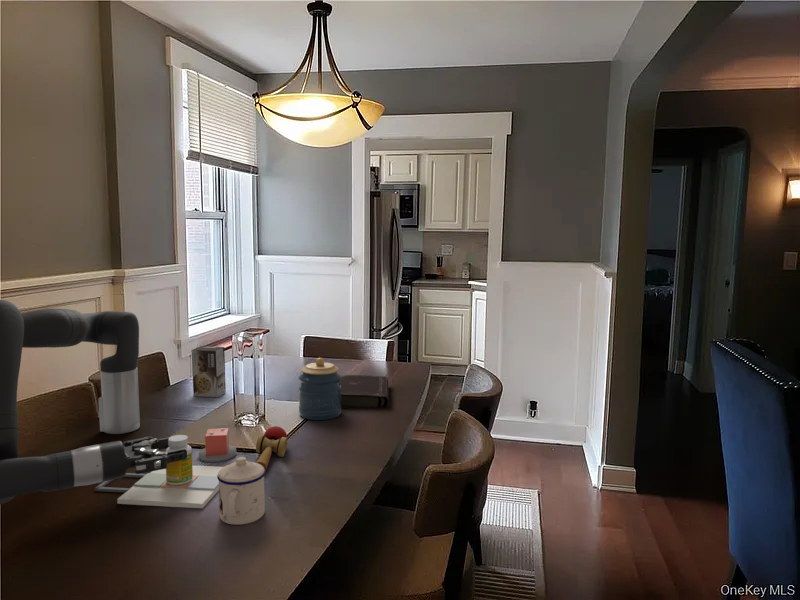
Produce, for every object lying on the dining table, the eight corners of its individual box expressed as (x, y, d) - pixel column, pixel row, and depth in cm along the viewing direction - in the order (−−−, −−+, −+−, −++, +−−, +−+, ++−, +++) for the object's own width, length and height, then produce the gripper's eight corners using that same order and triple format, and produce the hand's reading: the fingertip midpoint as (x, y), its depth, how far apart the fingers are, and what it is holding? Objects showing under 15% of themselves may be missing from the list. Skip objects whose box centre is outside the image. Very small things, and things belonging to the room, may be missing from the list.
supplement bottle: (183, 487, 123) (182, 443, 122) (161, 484, 124) (159, 441, 123) (197, 476, 128) (196, 434, 127) (175, 474, 129) (174, 432, 128)
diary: (388, 389, 209) (388, 375, 208) (388, 410, 184) (389, 395, 184) (336, 387, 208) (336, 374, 208) (330, 409, 184) (330, 394, 183)
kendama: (280, 478, 134) (295, 440, 152) (274, 454, 133) (289, 418, 150) (248, 483, 135) (266, 444, 152) (241, 459, 133) (260, 423, 150)
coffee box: (226, 392, 199) (225, 346, 197) (217, 397, 193) (216, 350, 191) (202, 391, 200) (200, 345, 199) (192, 396, 194) (190, 349, 192)
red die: (195, 463, 139) (194, 437, 138) (201, 449, 148) (201, 424, 147) (234, 461, 140) (233, 435, 140) (238, 447, 149) (237, 423, 148)
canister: (303, 407, 184) (303, 352, 182) (344, 408, 183) (344, 353, 181) (294, 420, 171) (294, 362, 169) (338, 421, 170) (338, 363, 168)
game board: (80, 501, 119) (79, 495, 119) (128, 466, 137) (128, 460, 137) (202, 508, 117) (202, 501, 116) (235, 471, 134) (235, 465, 134)
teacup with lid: (226, 503, 119) (225, 449, 117) (270, 504, 119) (269, 449, 117) (206, 534, 107) (205, 474, 106) (255, 534, 107) (254, 474, 106)
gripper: (102, 457, 110) (189, 440, 119) (92, 435, 122) (172, 421, 131) (104, 494, 111) (190, 475, 120) (93, 469, 122) (173, 453, 132)
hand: (181, 447), depth 125 cm, fingers open, 8 cm apart
